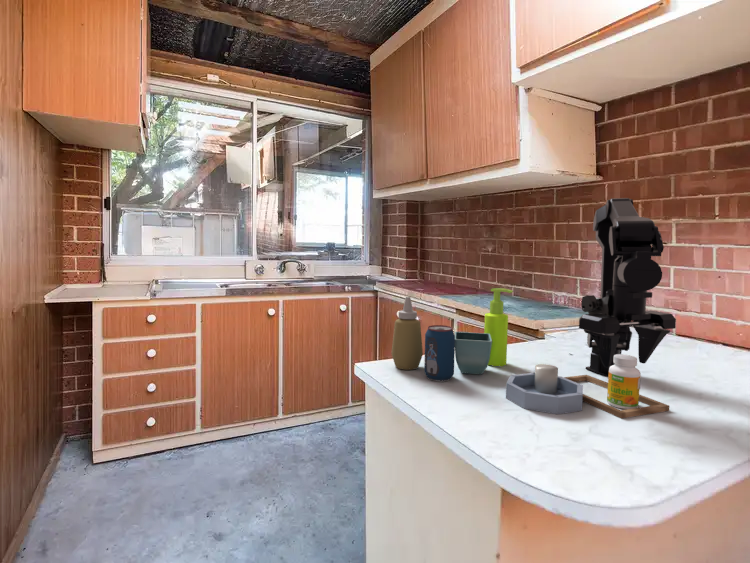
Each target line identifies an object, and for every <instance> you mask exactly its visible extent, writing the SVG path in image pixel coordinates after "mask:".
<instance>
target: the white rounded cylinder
mask: <svg viewBox="0 0 750 563" xmlns="http://www.w3.org/2000/svg"><path fill="white" fill-rule="evenodd" d="M534 371H535V372H534V373H535V388H534V389H535V391H537V392H540V393H544V394H555V393H557V380H558V376H559V367H557V366H555V365H553V364H546V363H545V364H544V363H543V364H542V363H540V364H538V363H537V364H535V370H534Z"/></svg>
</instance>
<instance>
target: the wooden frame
mask: <svg viewBox="0 0 750 563" xmlns="http://www.w3.org/2000/svg"><path fill="white" fill-rule="evenodd" d="M563 377H564V378H566V379H569V380H571V381H574V382H576V383H578V382H585V381H587V382H589V383H592V384H594V385H597V386H600V387H602V388H604V389H607V390H608V381H604V380H602V379H599V378H597V377H594V376H591V375H588V374H582V375H572V376H563ZM582 402H583V403H587V404H588V405H591V406H593V407H595V408H598V409H599V410H602V411H604V412H606V413H609V414H610V415H612V416H615V417H617V418H619V419H626V418H632V417H639V416H644V415H645V416H646V415H650V414H657V413H663V412H669V411H670V405H669V404H666V403H664V402H662V401H661V402H660V401H659V400H655V399H653V398H649V397H647V396H645V395H642V394H640V393H639V402H641V403H642V404H645V405H648V406H641V407H640V406H639V407H638V408H633V409H620V408H617V407H614V406H612V405H610V404H608V403H605V402H602V401H601V400H598V399H596V398H593V397H591V396H590V395H589V396H588V395H586V394H584V393H583V398H582Z"/></svg>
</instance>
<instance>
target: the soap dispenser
mask: <svg viewBox="0 0 750 563" xmlns="http://www.w3.org/2000/svg"><path fill="white" fill-rule="evenodd" d="M490 292H493V299H491V300H490V301H489V312H487V313H485V314H484V330H483V333H487V334H490V336H491V339H492V345H491V352H490V359H489V363H488V365H487V366H489V365H493V366H492V367H495V366H501V367H505V366H507V359H508V358H507V357H508V356H507V354H508V330H509V328H508V326H509V315H508V314H506V313H504V301H503V300H502V299H501V293H503V292H504V293H509V294H512V293H513V292H514V290H512V289H508V288H503V287H502V288H498V287H497V288H491V289H490ZM504 365H505V366H504Z"/></svg>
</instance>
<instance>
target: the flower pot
mask: <svg viewBox="0 0 750 563" xmlns="http://www.w3.org/2000/svg"><path fill="white" fill-rule="evenodd" d="M454 334H455V355H454V358H455V361H456V365H457V367H458V370H459V372H460V373H461V374H472V375H483V373H485V371H486V369H487V368H488V366H489V365H488V363H489V359H490V352H491V345H492V339H491V336H490V334H487V333H484V332H483V333H481V332H468V331H467V332H466V331H454Z"/></svg>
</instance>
